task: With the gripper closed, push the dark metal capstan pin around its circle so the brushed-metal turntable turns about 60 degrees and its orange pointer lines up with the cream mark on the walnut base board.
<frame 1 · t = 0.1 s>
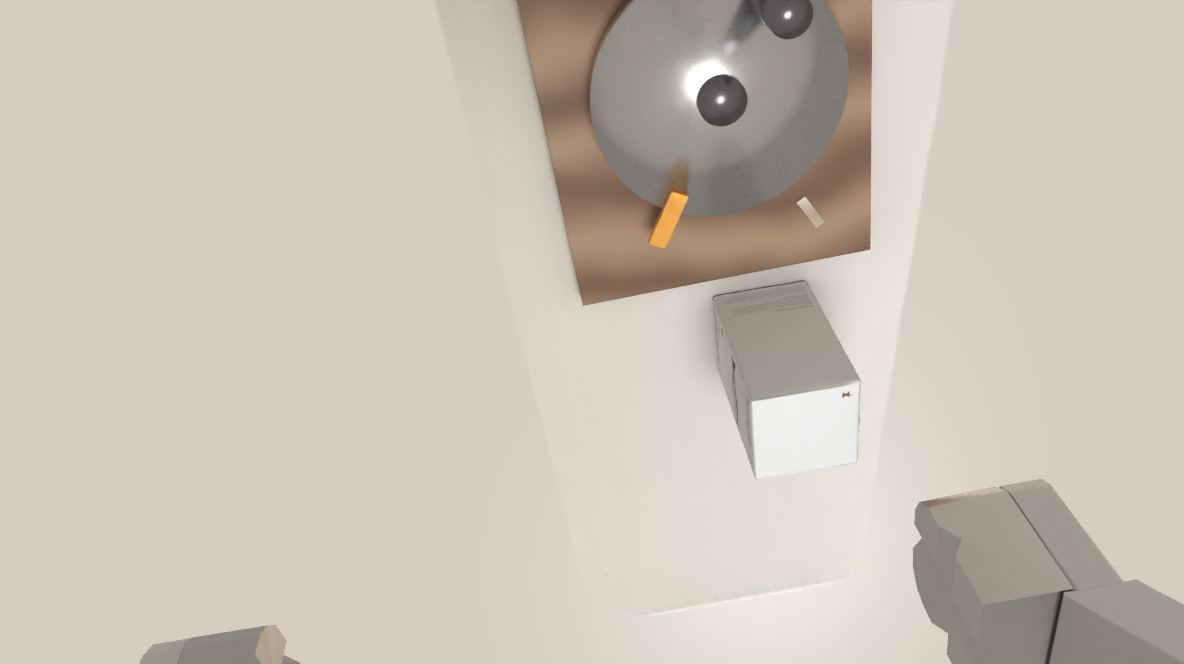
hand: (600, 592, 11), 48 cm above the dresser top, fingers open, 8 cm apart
dial: (717, 127, 53), point 5 cm above the dresser top, hinge at 0.0°
base board: (702, 82, 57), on the dresser top
supplement box: (759, 325, 68), on the dresser top
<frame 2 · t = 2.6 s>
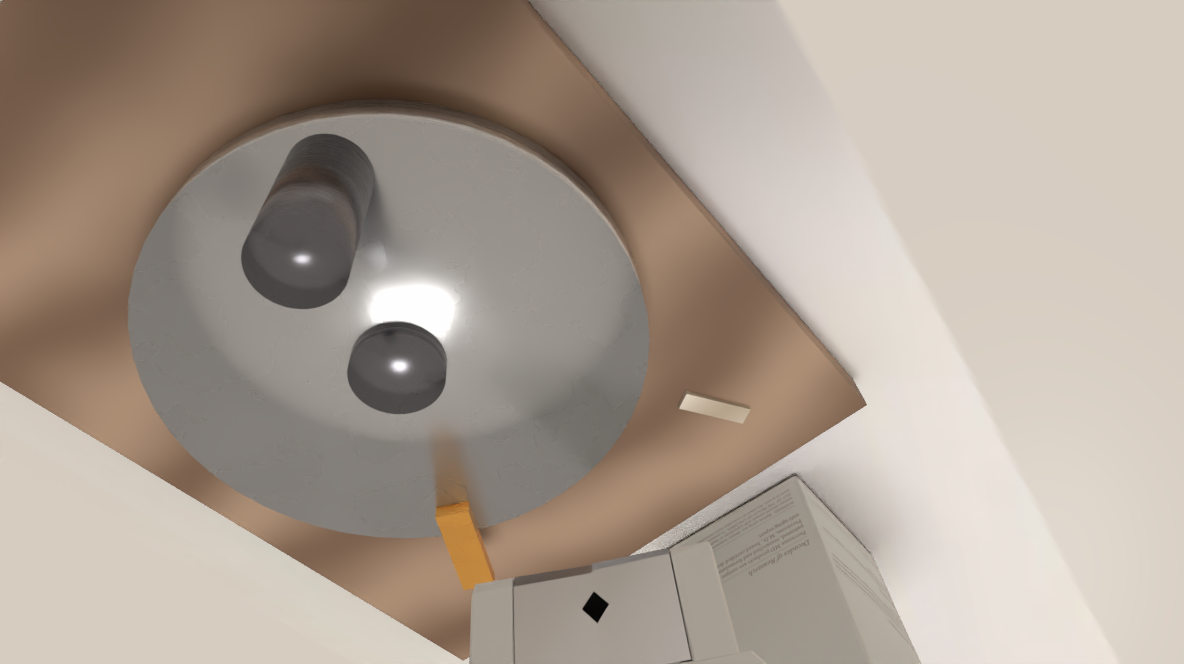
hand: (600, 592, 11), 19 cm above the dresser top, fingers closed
dial: (405, 426, 27), point 5 cm above the dresser top, hinge at 0.0°
base board: (397, 314, 31), on the dresser top
supplement box: (766, 552, 40), on the dresser top
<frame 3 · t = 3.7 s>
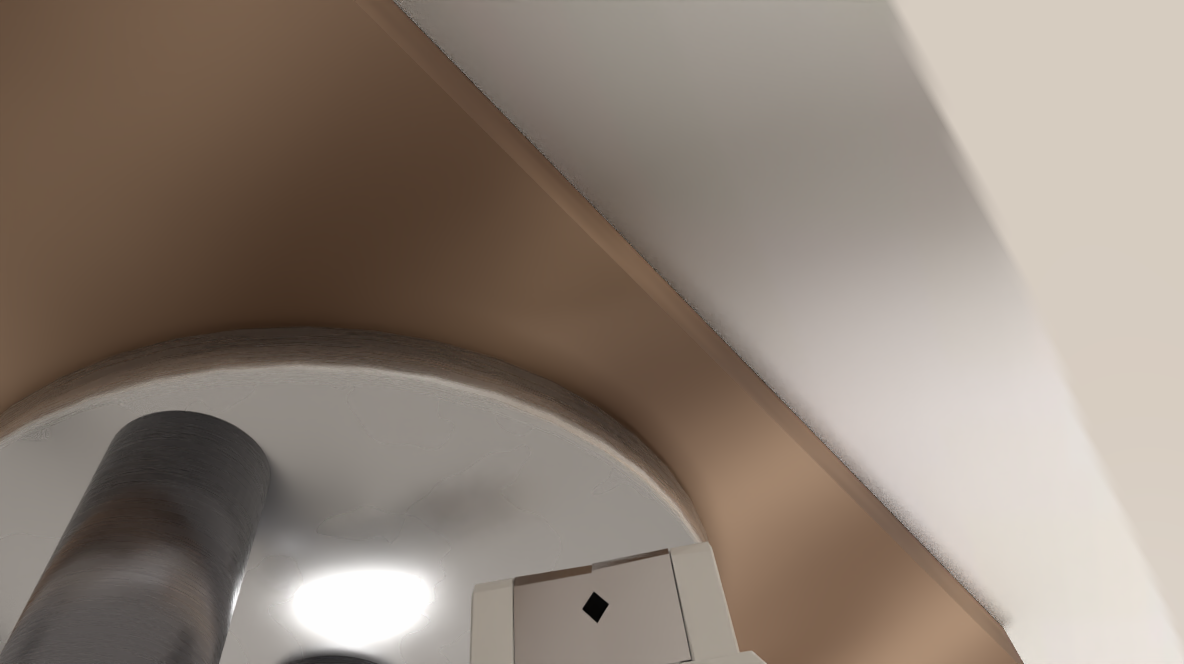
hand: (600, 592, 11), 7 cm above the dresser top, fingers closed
base board: (339, 583, 20), on the dresser top
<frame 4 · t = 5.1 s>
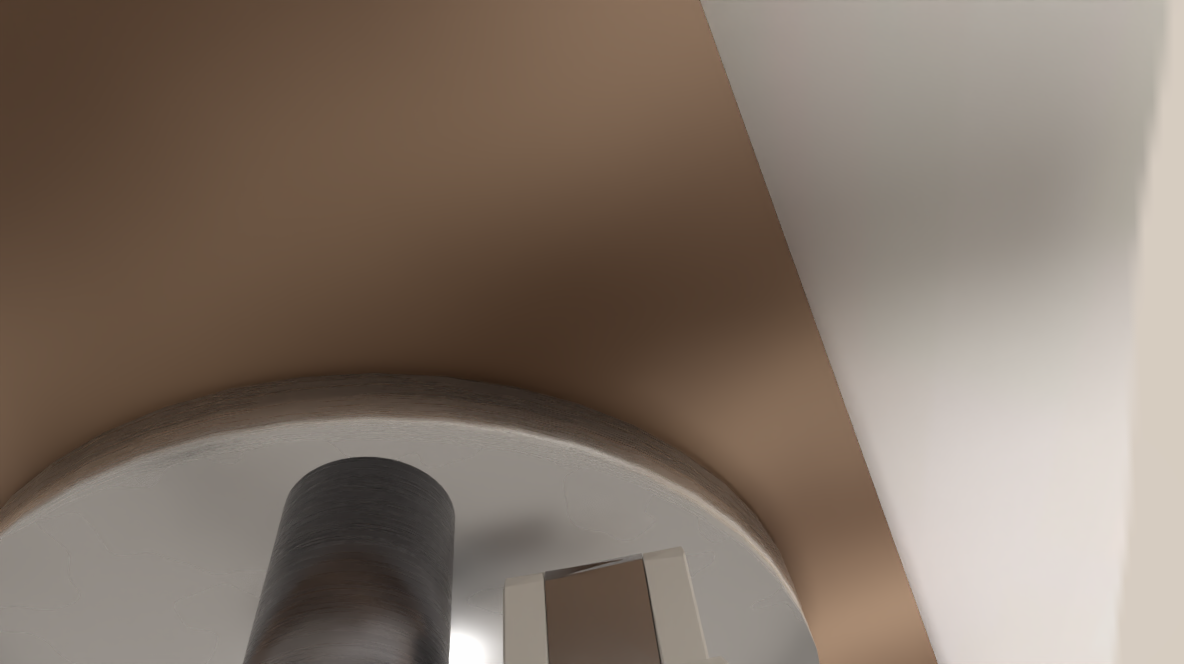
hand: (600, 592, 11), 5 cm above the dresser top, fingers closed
base board: (388, 631, 19), on the dresser top
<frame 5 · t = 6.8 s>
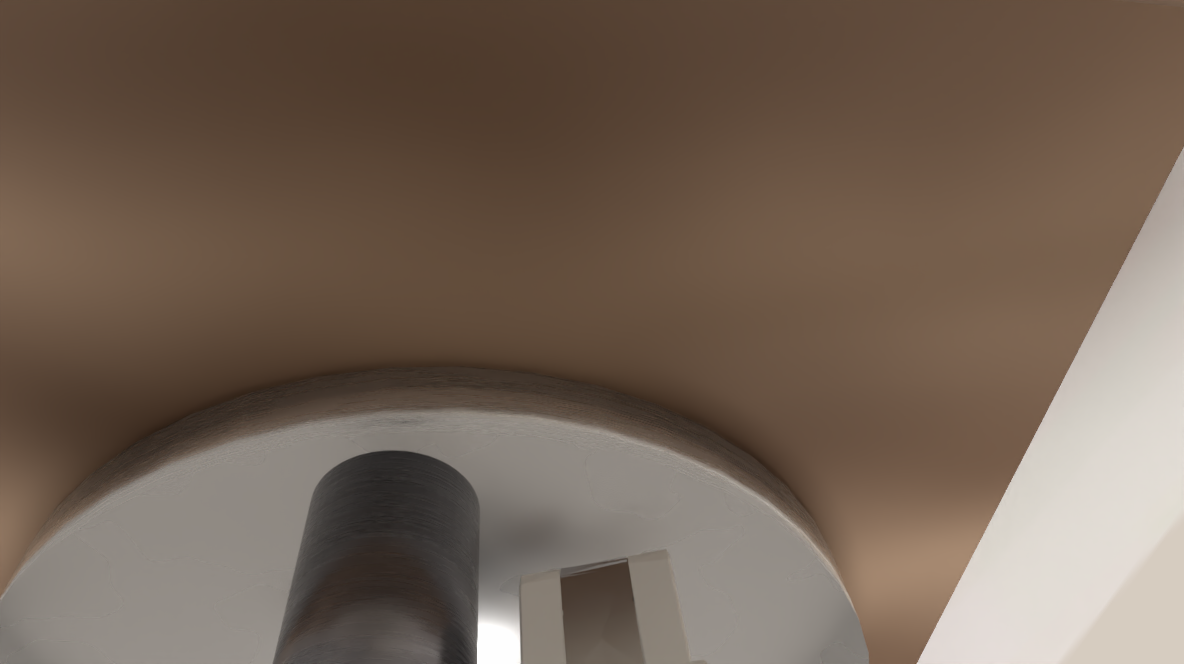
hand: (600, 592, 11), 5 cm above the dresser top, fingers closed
base board: (429, 614, 19), on the dresser top
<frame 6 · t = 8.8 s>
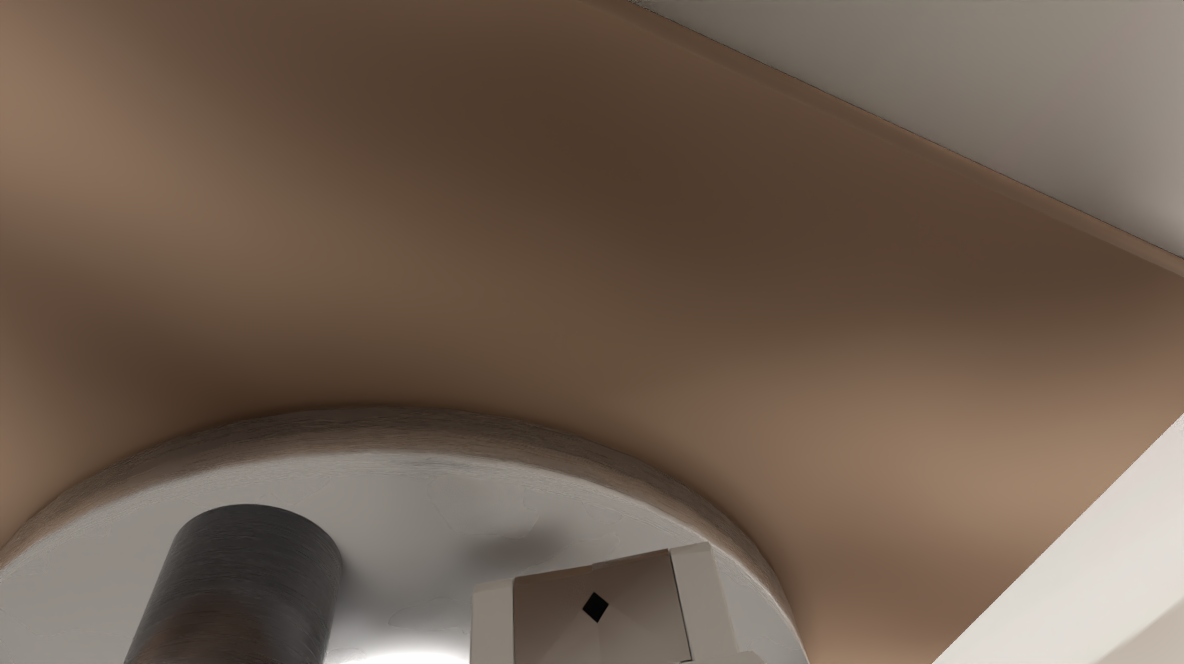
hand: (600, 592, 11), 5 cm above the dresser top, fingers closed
base board: (389, 640, 19), on the dresser top
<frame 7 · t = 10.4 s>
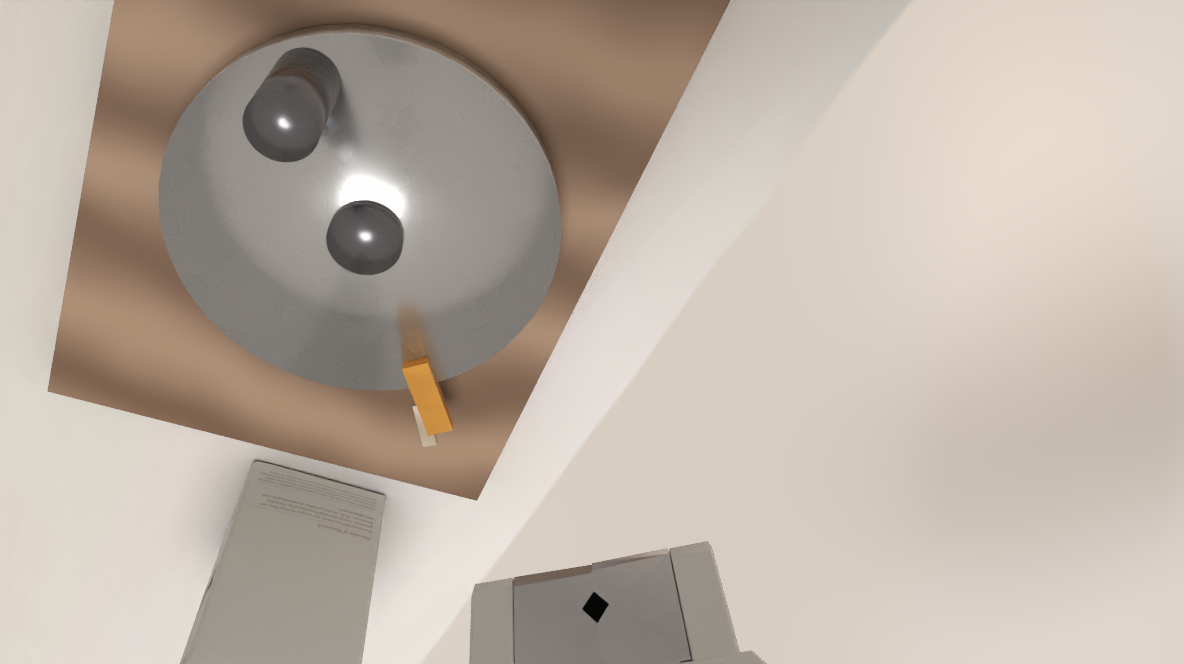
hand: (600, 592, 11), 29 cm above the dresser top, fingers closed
dial: (372, 280, 35), point 5 cm above the dresser top, hinge at 65.9°
base board: (363, 196, 39), on the dresser top
supplement box: (302, 519, 49), on the dresser top
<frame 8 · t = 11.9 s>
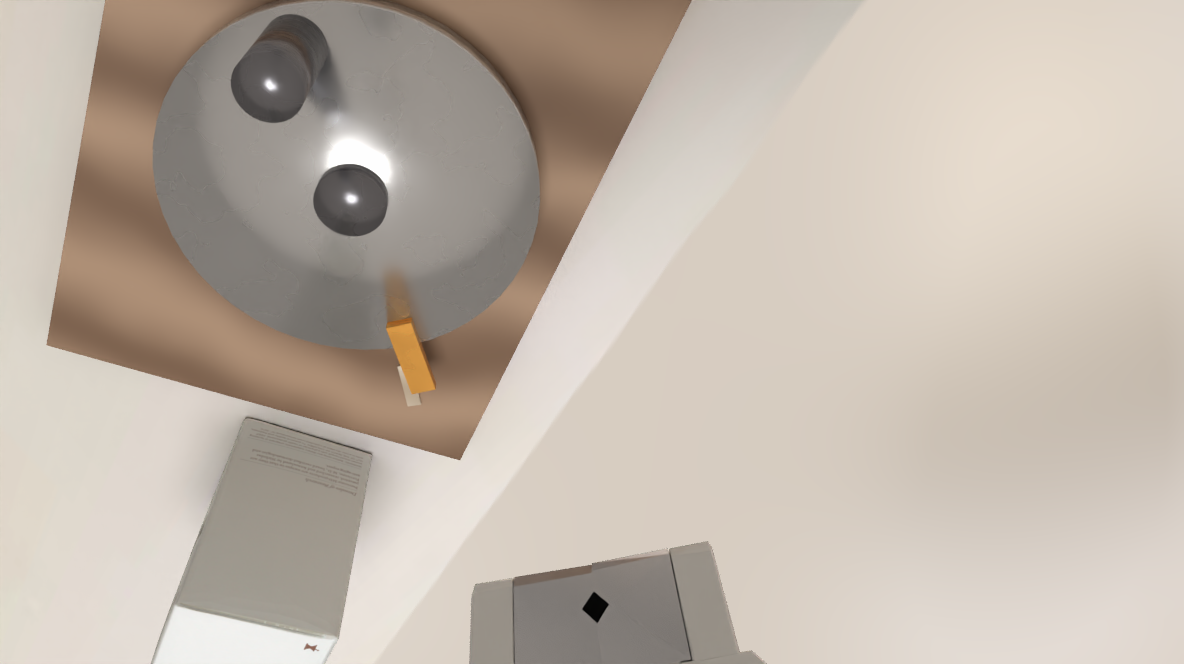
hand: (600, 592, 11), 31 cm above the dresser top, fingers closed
dial: (357, 241, 37), point 5 cm above the dresser top, hinge at 65.9°
base board: (351, 161, 40), on the dresser top
supplement box: (292, 476, 51), on the dresser top
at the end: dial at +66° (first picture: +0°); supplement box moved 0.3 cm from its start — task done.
